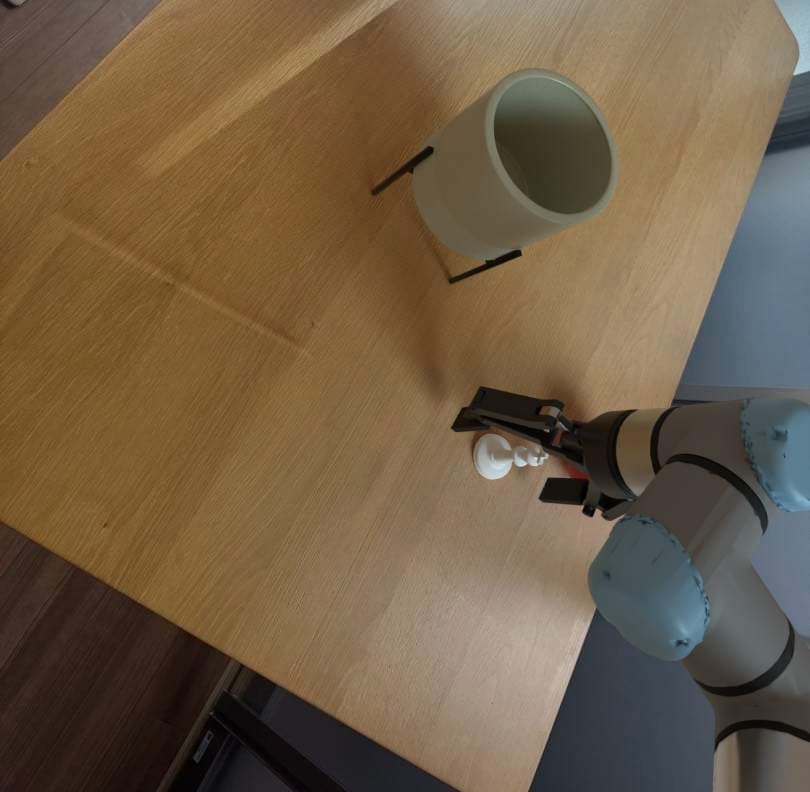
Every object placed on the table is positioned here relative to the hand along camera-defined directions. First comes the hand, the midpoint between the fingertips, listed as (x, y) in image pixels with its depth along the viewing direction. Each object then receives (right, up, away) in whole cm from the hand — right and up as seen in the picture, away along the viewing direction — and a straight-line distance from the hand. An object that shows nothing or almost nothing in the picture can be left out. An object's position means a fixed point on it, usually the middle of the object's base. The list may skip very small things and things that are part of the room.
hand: (502, 455), depth 80 cm
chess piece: (-1, -1, +2) cm, 2 cm away
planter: (-7, +27, +6) cm, 28 cm away
